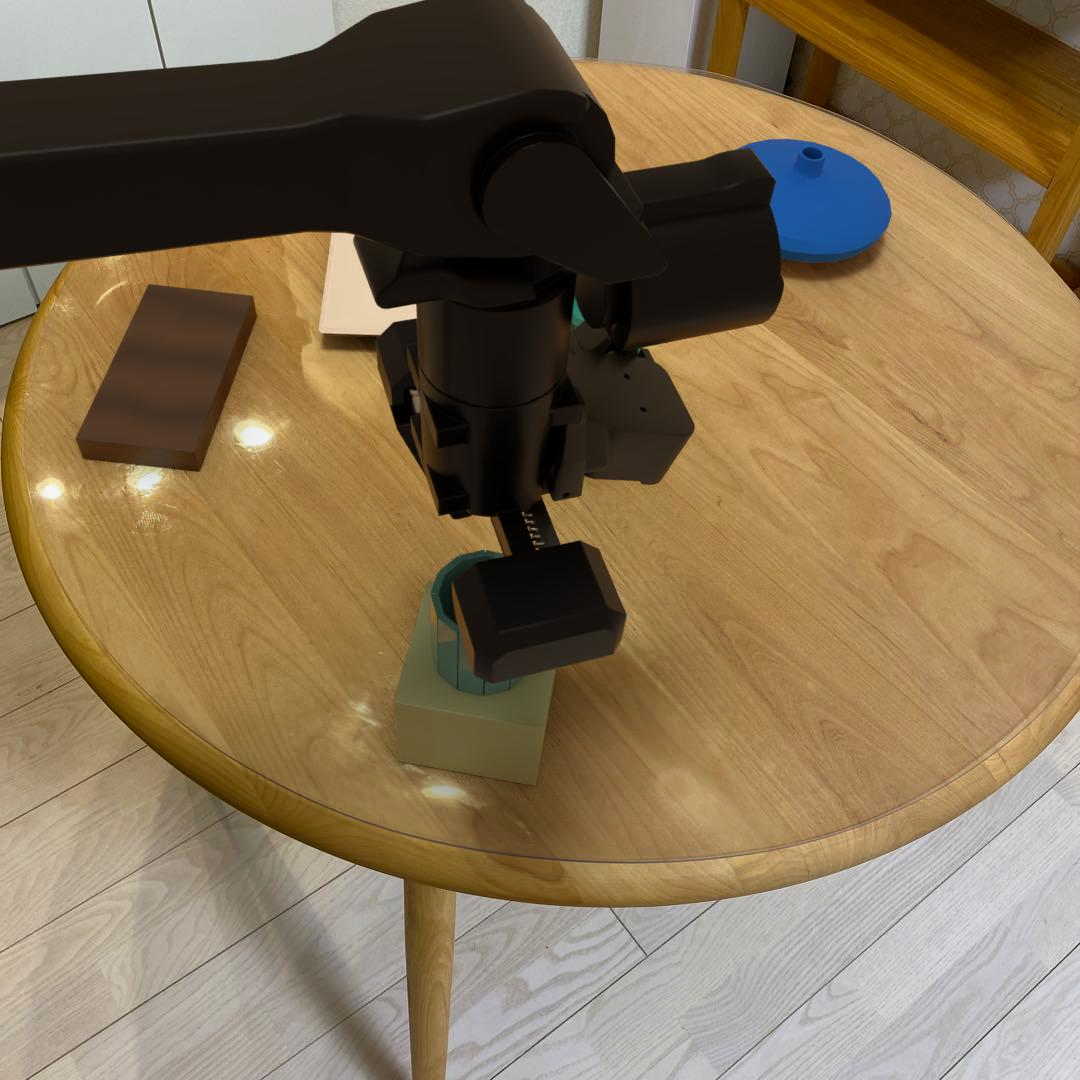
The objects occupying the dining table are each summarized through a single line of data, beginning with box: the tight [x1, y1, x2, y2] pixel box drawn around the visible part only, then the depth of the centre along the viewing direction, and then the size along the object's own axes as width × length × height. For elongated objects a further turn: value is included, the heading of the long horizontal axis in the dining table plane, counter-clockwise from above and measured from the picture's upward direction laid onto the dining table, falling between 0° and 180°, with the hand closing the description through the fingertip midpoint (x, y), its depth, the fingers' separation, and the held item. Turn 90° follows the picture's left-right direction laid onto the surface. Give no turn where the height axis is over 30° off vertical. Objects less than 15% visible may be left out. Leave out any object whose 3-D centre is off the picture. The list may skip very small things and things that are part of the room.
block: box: [75, 283, 257, 472], centre depth 78 cm, size 16×8×2 cm, turn 175°
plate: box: [318, 233, 417, 338], centre depth 87 cm, size 19×19×2 cm
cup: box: [430, 549, 525, 696], centre depth 57 cm, size 5×5×6 cm
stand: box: [393, 580, 558, 787], centre depth 62 cm, size 8×8×7 cm
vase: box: [735, 138, 893, 264], centre depth 92 cm, size 16×16×7 cm
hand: (485, 586), depth 54 cm, fingers open, 9 cm apart
